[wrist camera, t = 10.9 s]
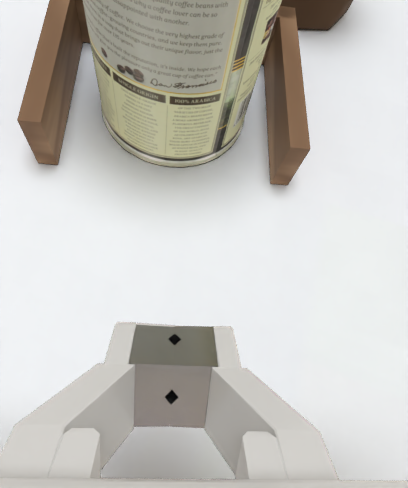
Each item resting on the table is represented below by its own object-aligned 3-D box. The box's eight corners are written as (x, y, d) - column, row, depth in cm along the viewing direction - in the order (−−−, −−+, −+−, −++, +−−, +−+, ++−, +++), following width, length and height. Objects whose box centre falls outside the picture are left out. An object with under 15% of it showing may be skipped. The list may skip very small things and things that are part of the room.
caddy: (277, 55, 30) (295, 7, 27) (287, 185, 25) (310, 149, 22) (69, 28, 28) (56, -26, 25) (38, 163, 24) (17, 120, 20)
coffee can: (102, 52, 28) (58, -246, 15) (236, 59, 29) (301, -206, 17) (97, 168, 24) (32, -96, 11) (251, 170, 26) (352, -62, 13)
